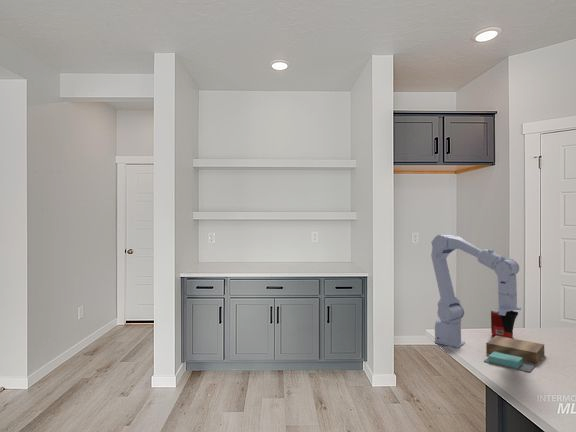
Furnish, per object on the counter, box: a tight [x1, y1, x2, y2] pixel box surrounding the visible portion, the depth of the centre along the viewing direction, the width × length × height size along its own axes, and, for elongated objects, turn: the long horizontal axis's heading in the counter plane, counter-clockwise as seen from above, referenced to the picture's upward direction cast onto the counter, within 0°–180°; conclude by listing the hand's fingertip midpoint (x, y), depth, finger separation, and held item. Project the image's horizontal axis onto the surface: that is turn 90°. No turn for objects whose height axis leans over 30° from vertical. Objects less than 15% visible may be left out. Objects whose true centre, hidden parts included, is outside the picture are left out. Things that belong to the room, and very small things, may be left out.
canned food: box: [490, 308, 514, 339], centre depth 161 cm, size 8×8×11 cm
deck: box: [485, 336, 545, 365], centre depth 139 cm, size 16×12×4 cm
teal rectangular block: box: [487, 352, 523, 368], centre depth 130 cm, size 9×6×2 cm, turn 44°
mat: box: [483, 357, 538, 374], centre depth 130 cm, size 14×9×1 cm, turn 45°
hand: (508, 332), depth 134 cm, fingers closed
